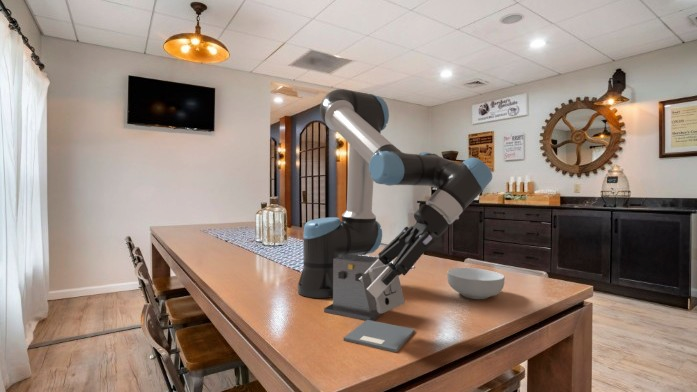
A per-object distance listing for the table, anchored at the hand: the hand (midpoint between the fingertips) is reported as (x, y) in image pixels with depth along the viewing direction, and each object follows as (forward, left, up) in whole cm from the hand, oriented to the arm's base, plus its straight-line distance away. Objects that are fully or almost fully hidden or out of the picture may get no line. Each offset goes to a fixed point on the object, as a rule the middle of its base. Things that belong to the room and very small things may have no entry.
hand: (367, 288), depth 76 cm
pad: (+2, +2, -11) cm, 11 cm away
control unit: (-10, +15, -11) cm, 21 cm away
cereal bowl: (+16, +45, -11) cm, 49 cm away
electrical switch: (+3, +2, -5) cm, 6 cm away
